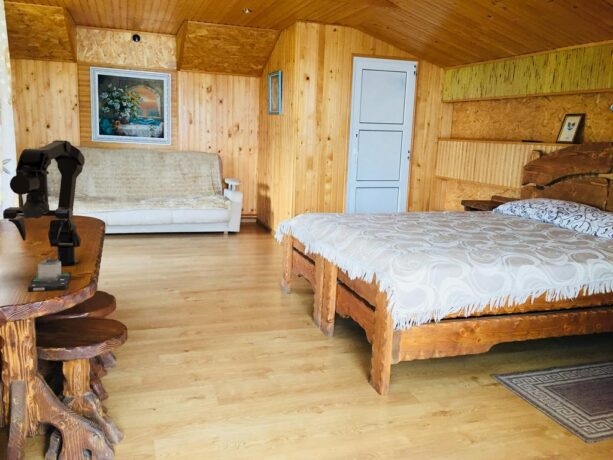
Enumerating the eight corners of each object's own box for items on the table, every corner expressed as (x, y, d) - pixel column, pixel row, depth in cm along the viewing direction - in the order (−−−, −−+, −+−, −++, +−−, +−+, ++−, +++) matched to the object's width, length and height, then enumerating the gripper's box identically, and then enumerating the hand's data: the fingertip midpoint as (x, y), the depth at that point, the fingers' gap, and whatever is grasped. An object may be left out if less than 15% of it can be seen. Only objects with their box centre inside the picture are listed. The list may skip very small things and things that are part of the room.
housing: (44, 277, 164) (43, 256, 163) (61, 277, 165) (60, 256, 164) (38, 281, 159) (37, 260, 158) (56, 281, 160) (55, 260, 159)
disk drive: (67, 294, 157) (71, 280, 171) (67, 284, 157) (71, 271, 170) (27, 296, 154) (35, 282, 168) (27, 286, 153) (34, 273, 167)
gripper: (-6, 193, 156) (-2, 246, 159) (63, 194, 160) (66, 245, 163) (7, 189, 167) (11, 238, 170) (72, 189, 170) (74, 238, 173)
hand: (40, 240), depth 169 cm, fingers open, 9 cm apart
